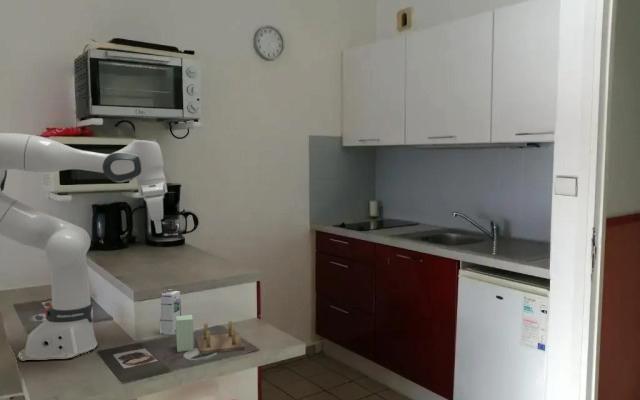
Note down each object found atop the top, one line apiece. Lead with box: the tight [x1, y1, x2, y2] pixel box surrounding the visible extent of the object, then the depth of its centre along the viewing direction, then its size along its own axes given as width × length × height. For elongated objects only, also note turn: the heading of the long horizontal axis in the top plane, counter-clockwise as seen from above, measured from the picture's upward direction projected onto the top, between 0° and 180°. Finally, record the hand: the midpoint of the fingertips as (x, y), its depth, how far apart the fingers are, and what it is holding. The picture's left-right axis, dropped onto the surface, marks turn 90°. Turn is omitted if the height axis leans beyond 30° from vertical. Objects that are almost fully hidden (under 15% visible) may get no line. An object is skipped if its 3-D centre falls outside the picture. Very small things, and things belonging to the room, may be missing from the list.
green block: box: [175, 314, 195, 353], centre depth 170 cm, size 5×5×10 cm
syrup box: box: [160, 290, 182, 336], centre depth 186 cm, size 6×6×14 cm
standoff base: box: [195, 320, 246, 355], centre depth 173 cm, size 14×14×6 cm
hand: (158, 230), depth 173 cm, fingers open, 8 cm apart
